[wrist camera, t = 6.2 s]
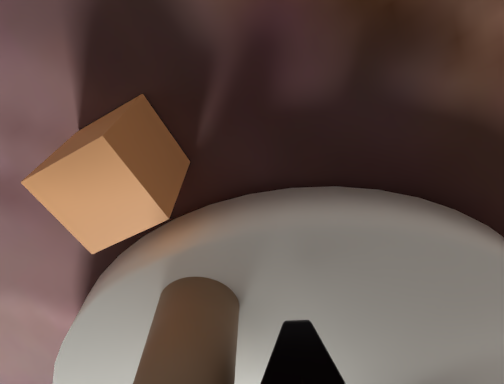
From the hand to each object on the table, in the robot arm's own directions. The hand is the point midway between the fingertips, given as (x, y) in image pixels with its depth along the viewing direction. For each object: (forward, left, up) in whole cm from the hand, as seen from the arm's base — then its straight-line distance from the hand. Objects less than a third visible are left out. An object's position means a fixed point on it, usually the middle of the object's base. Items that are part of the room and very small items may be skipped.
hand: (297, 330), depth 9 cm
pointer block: (+2, +6, -4) cm, 7 cm away
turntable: (-7, -3, -4) cm, 9 cm away
